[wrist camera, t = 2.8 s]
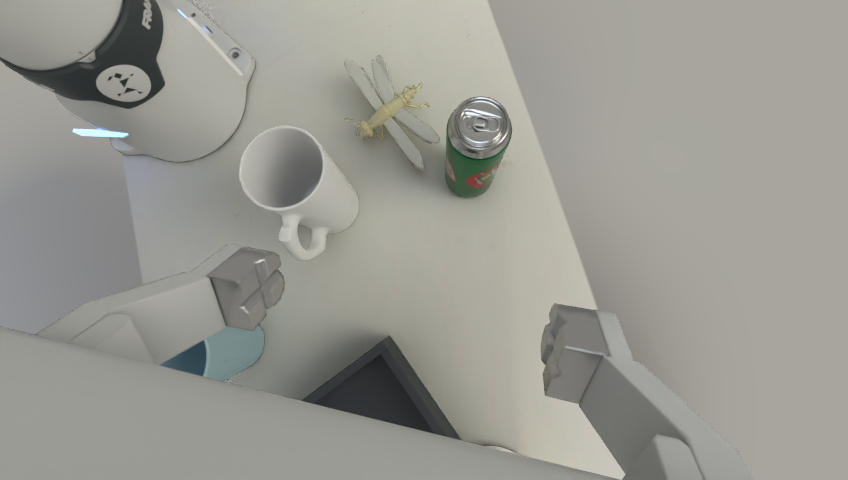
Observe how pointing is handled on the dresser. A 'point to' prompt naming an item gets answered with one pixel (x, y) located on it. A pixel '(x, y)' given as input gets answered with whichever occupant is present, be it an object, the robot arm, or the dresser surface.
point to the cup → (221, 354)
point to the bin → (384, 392)
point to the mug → (298, 187)
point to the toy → (391, 110)
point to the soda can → (475, 145)
